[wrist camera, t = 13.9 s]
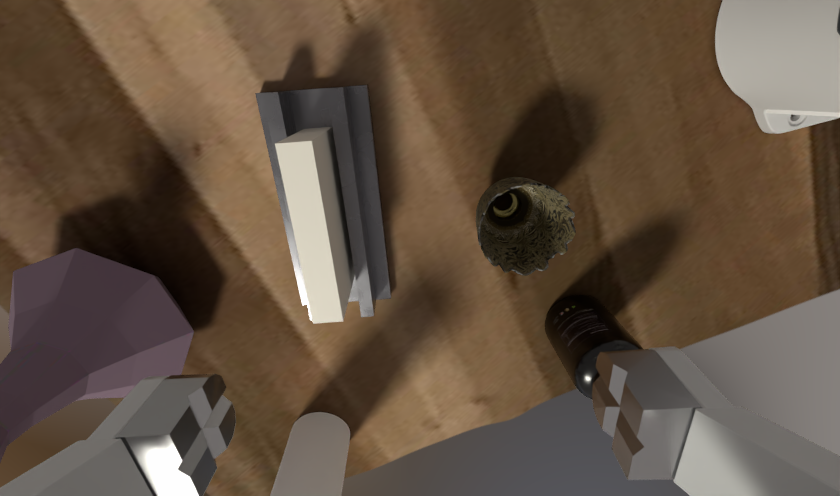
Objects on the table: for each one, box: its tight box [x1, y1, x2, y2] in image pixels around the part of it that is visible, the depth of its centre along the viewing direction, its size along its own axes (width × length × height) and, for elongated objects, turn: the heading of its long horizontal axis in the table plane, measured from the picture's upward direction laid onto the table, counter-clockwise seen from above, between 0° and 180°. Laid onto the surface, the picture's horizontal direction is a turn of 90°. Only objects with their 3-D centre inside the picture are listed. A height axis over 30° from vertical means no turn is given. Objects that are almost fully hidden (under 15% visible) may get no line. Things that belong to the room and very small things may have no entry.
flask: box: [0, 248, 194, 462], centre depth 31 cm, size 16×16×20 cm
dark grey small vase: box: [476, 177, 575, 276], centre depth 33 cm, size 8×7×8 cm
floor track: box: [255, 85, 391, 321], centre depth 35 cm, size 20×9×4 cm, turn 4°
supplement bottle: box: [545, 295, 643, 399], centre depth 37 cm, size 7×7×12 cm
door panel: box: [275, 127, 355, 324], centre depth 32 cm, size 14×2×8 cm, turn 4°
